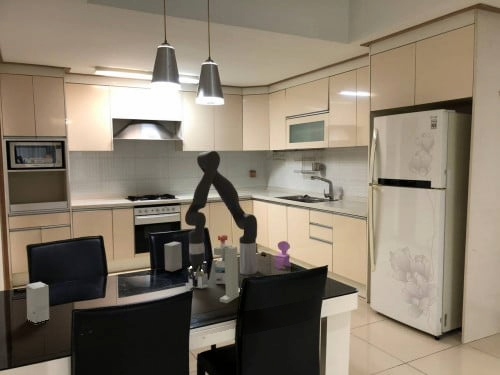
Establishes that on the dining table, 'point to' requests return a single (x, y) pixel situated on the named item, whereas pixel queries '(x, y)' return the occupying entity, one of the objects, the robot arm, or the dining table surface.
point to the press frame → (229, 272)
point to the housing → (200, 280)
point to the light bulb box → (219, 275)
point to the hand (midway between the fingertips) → (198, 284)
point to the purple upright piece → (282, 255)
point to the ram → (222, 261)
